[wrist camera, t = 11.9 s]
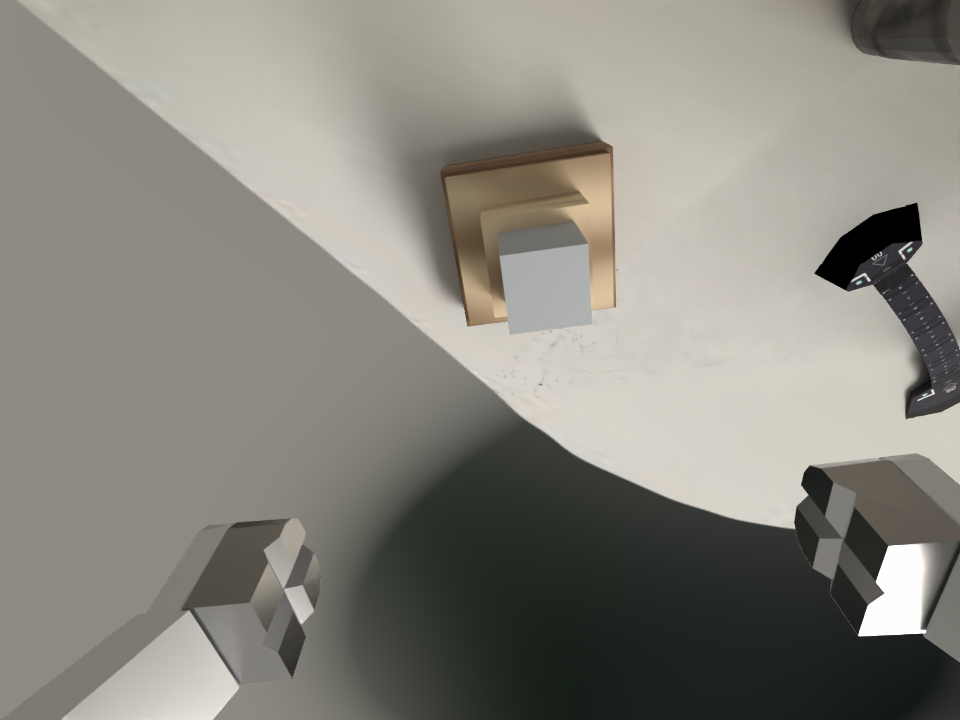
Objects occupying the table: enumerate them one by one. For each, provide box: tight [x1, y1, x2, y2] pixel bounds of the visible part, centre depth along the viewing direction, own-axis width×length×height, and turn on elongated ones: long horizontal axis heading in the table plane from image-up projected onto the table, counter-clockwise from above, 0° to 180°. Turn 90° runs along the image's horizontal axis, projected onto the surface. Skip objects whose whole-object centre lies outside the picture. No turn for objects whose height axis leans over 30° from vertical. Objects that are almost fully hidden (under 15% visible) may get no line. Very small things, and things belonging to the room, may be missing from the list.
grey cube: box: [498, 222, 592, 335], centre depth 32 cm, size 5×5×5 cm
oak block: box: [480, 191, 594, 318], centre depth 36 cm, size 7×7×4 cm
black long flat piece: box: [815, 203, 960, 419], centre depth 44 cm, size 9×25×3 cm, turn 42°
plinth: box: [441, 141, 616, 326], centre depth 40 cm, size 12×12×4 cm
